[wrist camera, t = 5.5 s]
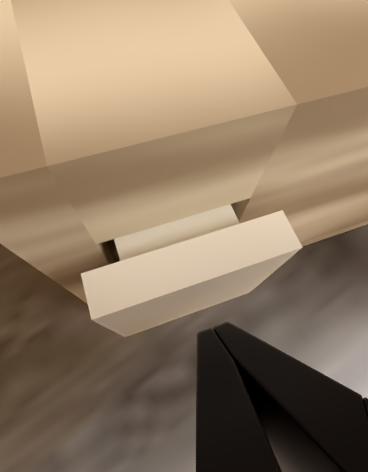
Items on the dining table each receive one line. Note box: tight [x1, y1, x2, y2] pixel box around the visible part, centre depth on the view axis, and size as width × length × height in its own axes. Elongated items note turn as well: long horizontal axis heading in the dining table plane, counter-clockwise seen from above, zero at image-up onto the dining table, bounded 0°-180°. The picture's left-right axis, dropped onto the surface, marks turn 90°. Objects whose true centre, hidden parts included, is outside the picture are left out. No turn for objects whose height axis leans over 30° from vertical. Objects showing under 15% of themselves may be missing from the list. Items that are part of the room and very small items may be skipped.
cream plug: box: [81, 204, 303, 337], centre depth 11 cm, size 12×5×5 cm, turn 20°
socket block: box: [0, 0, 368, 304], centre depth 13 cm, size 11×22×11 cm, turn 110°
